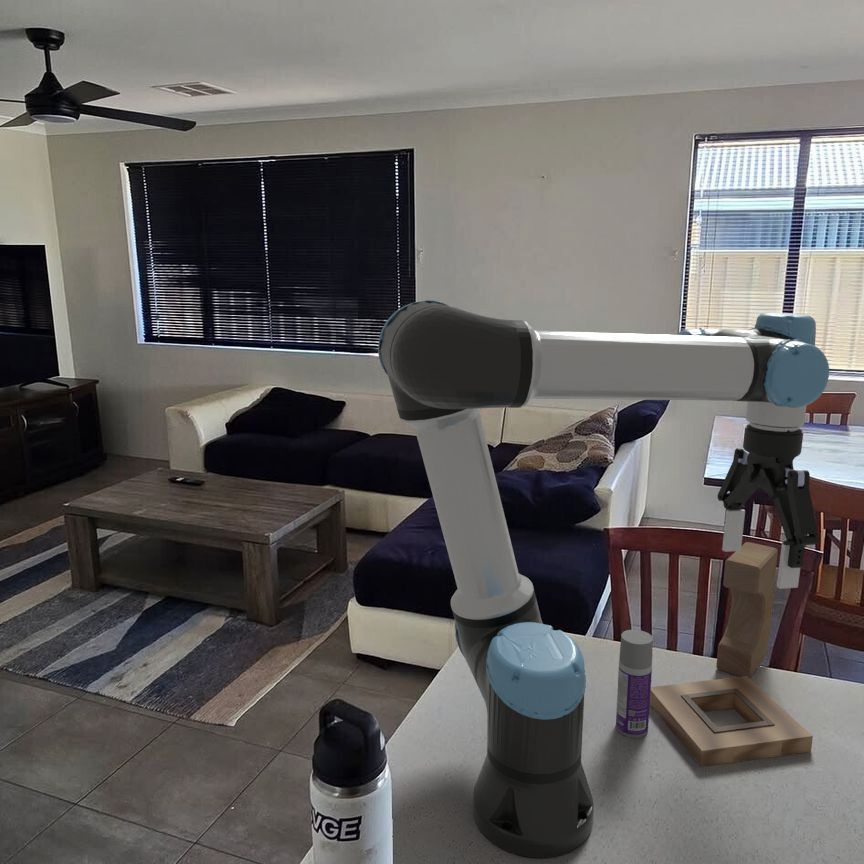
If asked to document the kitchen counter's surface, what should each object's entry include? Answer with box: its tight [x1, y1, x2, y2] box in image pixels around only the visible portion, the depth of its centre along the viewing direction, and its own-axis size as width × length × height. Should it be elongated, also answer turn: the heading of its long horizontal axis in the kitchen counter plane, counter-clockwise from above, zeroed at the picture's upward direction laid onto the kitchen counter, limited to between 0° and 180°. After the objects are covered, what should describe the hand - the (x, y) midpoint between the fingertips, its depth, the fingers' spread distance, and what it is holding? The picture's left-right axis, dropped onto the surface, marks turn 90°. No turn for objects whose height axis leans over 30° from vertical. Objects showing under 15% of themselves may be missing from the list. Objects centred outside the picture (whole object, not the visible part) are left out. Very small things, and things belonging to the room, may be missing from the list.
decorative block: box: [716, 541, 779, 679], centre depth 128 cm, size 11×6×20 cm, turn 140°
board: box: [650, 676, 814, 768], centre depth 113 cm, size 17×16×3 cm
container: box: [615, 629, 654, 739], centre depth 111 cm, size 5×5×15 cm
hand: (757, 567), depth 110 cm, fingers open, 13 cm apart
